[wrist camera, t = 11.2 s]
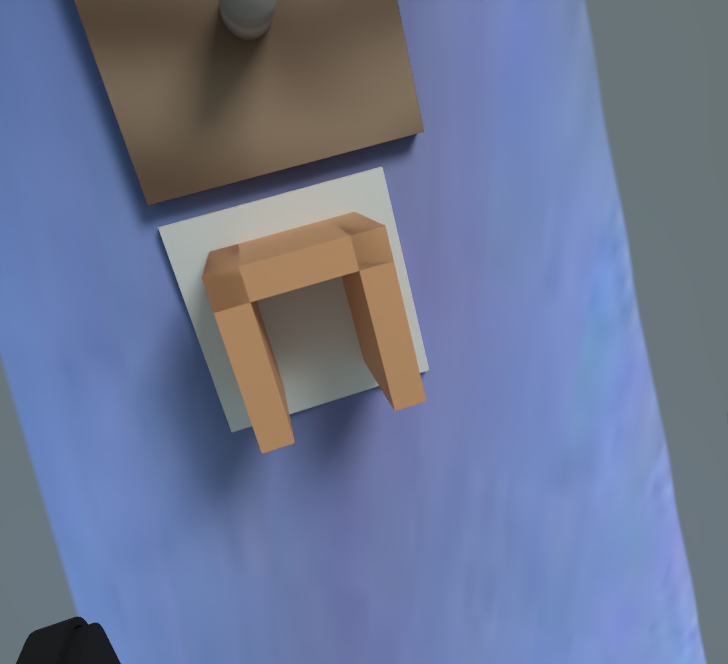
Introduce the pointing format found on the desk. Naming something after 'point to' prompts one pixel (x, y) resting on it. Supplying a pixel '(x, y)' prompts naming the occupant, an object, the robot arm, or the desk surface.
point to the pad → (290, 294)
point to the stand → (248, 84)
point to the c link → (299, 269)
